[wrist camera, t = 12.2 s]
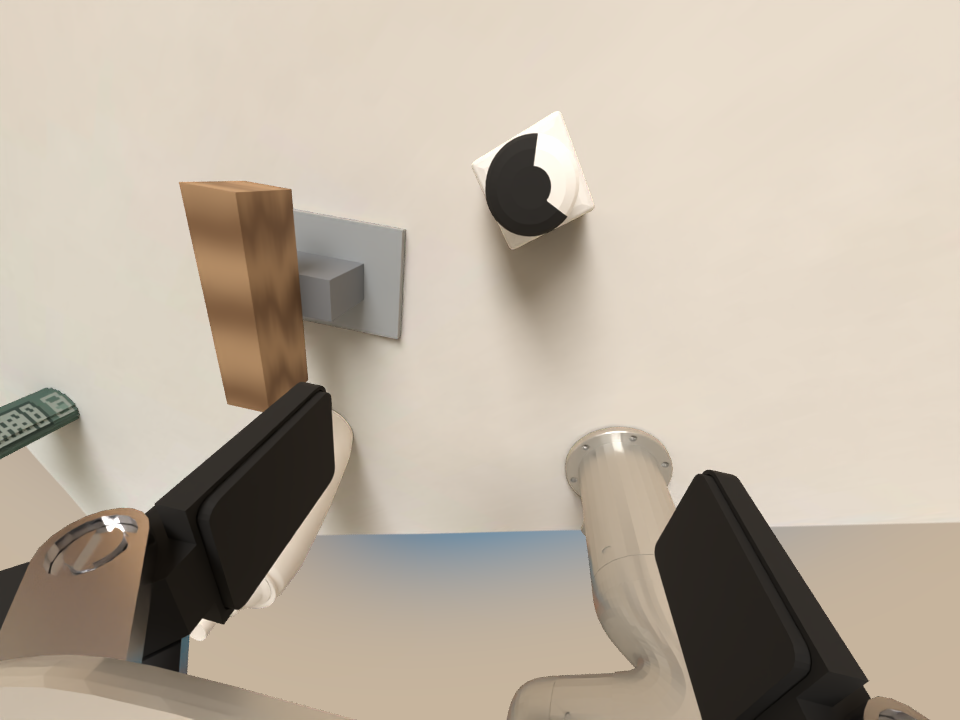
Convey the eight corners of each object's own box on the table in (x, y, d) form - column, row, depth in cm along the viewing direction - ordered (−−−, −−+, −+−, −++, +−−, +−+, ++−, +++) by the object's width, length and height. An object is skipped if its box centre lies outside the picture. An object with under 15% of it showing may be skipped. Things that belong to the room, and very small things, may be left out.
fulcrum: (400, 335, 43) (372, 367, 36) (256, 306, 44) (201, 331, 37) (405, 229, 37) (373, 241, 30) (240, 199, 38) (172, 204, 31)
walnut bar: (308, 380, 38) (269, 413, 32) (271, 372, 38) (227, 404, 32) (291, 189, 29) (235, 192, 24) (244, 181, 29) (179, 182, 24)
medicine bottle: (516, 238, 36) (504, 264, 25) (483, 165, 33) (455, 161, 23) (586, 202, 33) (606, 215, 23) (556, 121, 31) (563, 93, 20)
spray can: (344, 389, 48) (172, 575, 25) (386, 450, 51) (268, 658, 29) (280, 414, 51) (82, 594, 29) (324, 469, 55) (177, 666, 33)
